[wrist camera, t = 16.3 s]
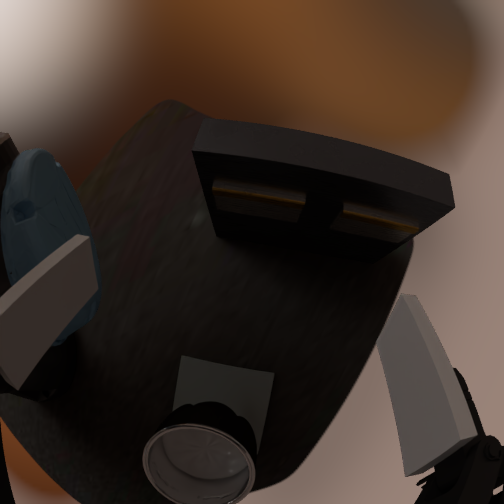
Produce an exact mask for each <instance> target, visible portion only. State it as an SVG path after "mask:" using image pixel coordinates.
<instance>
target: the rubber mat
mask: <svg viewBox="0 0 504 504" xmlns="http://www.w3.org/2000/svg"><path fill="white" fill-rule="evenodd" d="M273 379H274V373H271V372H264V371H257V370H251V369H245V368H240V367H234V366H229V365H224V364H219V363H214V362H209V361H204V360H200V359H195V358H191V357H187V356H181V362H180V368H179V374H178V380H177V386H176V392H175V398H174V405H173V411H174V410H175V409H176V408H178V407H179V406H181V405H183V404H185V403H187V402H189V401H191V400H193V399H194V397H195V395H196V394H197V392H198V391H199V390H200V389H202V388H203V387H205V386H207V385H210V384H214V383H224V384H228V385H231V386H233V387H235V388H237V389H238V390H240V391H241V392H242V393H243V394H244V396H245V397H246V399H247V401H248V404H249V416H248V419H249V421H250V423H251V425H252V427H253V430H254V433H255V438H256V443H257V454H258V451H259V447H260V442H261V438H262V433H263V429H264V424H265V419H266V414H267V409H268V405H269V400H270V394H271V389H272V384H273ZM173 411H172V412H173Z"/></svg>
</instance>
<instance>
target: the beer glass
mask: <svg viewBox="0 0 504 504" xmlns="http://www.w3.org/2000/svg"><path fill="white" fill-rule="evenodd" d="M248 416H249V404H248V401H247V399H246V397H245V396H244V394H243V393H242V392H241V391H240V390H238V389H237V388H235V387H233V386H231V385H228V384H224V383H214V384H210V385H207V386H205V387H203V388H202V389H200V390H199V391H198V392H197V394H196V395H195V397H194V399H193V400H191V401H189V402H187V403H185V404H183V405H181V406H179V407H178V408H176V409H175V410H174V411H173V412H172V413H170V414H169V415H168V416H167V417H166V418H165V420H164V421H163V422H162V423H161V424H160V426H159V427H158V428H157V430H156V431H155V433H154V434H153V436H152V437H151V438H150V439H149V440H148V442H147V443H146V445H145V448H144V451H143V467H144V470H145V473H146V475H147V477H148V479H149V481H150V482H151V483H152V485H153V486H154V487H155V488H156V489H157V490H158V491H159V492H160V493H161V494H162V495H164V496H165V497H166V498H168V499H169V500H171V501H173V502H175V503H177V504H236V503H238V502H239V501H241V500H242V499H243V498H244V497H246V496H247V494H248V493H249V492H250V490H251V489H252V487H253V484H254V481H255V469H256V461H257V443H256V438H255V433H254V430H253V427H252V425H251V423H250V421H249V419H248Z"/></svg>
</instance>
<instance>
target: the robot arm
mask: <svg viewBox="0 0 504 504" xmlns="http://www.w3.org/2000/svg"><path fill="white" fill-rule="evenodd" d="M101 289H102V283H101V272H100V266H99V261H98V256H97V252H96V248H95V244H94V241H93V238H92V234H91V231H90V228H89V225H88V222H87V219H86V216H85V214H84V211H83V208H82V206H81V204H80V201H79V199H78V197H77V194H76V192H75V190H74V188H73V186H72V184H71V182H70V180H69V178H68V176H67V174H66V173H65V171H64V169H63V168H62V166H61V165H60V164H59V163H58V162H55V159H54V157H53V155H52V154H50V153H49V152H48V151H46V150H44V149H40V148H35V149H32V150H25V151H23V152H22V153H21V154H20V153H19V152H18V150H17V148H16V147H15V145H14V143H13V141H12V139H11V137H10V135H9V134H8V133H2V132H0V394H2V393H10V394H13V395H16V396H20V397H23V398H26V399H30V400H33V401H48V400H53V399H56V398H58V397H60V396H62V395H63V394H64V393H65V392H66V391H67V390H68V388H69V386H70V385H71V382H72V380H73V377H74V373H75V368H76V345H75V339H74V334H73V332H75V331H76V330H78V329H79V328H81V327H82V326H84V325H86V324H87V323H88V322H89V321H90V320H91V319H92V318H93V317H94V315H95V314H96V312H97V310H98V307H99V303H100V299H101ZM376 344H377V347H378V350H379V354H380V358H381V361H382V365H383V369H384V373H385V377H386V381H387V385H388V388H389V393H390V397H391V401H392V405H393V410H394V415H395V419H396V425H397V429H398V435H399V441H400V446H401V452H402V459H403V465H404V472H405V477H408V476H412V475H417V474H421V473H424V472H425V471H427V470H428V469H430V468H432V467H434V469H435V472H433V473H432V474H430V475H428V476H426V477H425V478H423V479H421V480H420V481H419V482H418V483H417V484H416V485H417V486H419V485H421V484H423V483H424V482H426V481H427V482H426V484H425V485H423V486H422V487H421V488H422V489H423V490H422V491H421V493H420V495H419V497H418V498H417V500H416V502H415V503H414V504H504V446H501V444H500V442H499V440H498V439H496V438H495V437H494V436H491V435H489V436H486V435H485V432H484V430H483V427H482V424H481V421H480V418H479V415H478V412H477V410H476V407H475V404H474V402H473V401H472V397H471V394H470V392H468V387H467V384H466V382H465V380H464V378H463V376H462V375H461V374H460V373H459V371H458V370H457V369H456V368H452V365H451V364H450V361H449V359H448V357H447V355H446V352H445V350H444V348H443V346H442V344H441V342H440V340H439V338H438V336H437V334H436V332H435V330H434V328H433V326H432V324H431V322H430V320H429V318H428V317H427V315H426V313H425V311H424V309H423V307H422V306H421V304H420V302H419V300H418V298H417V297H416V296H415V295H408V294H401V295H400V297H399V299H398V301H397V303H396V305H395V307H394V309H393V311H392V313H391V315H390V317H389V319H388V321H387V323H386V325H385V327H384V328H383V330H382V332H381V334H380V336H379V337H378V339H377V341H376ZM502 484H503V491H501V492H499V493H498V494H496V495H493V490H494V489H496V488H497V487H499V486H501V485H502ZM0 504H15V500H14V498H13V494H12V490H11V486H10V482H9V477H8V472H7V468H6V462H5V456H4V450H3V443H2V435H1V424H0Z"/></svg>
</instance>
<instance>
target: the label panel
mask: <svg viewBox="0 0 504 504" xmlns="http://www.w3.org/2000/svg"><path fill="white" fill-rule="evenodd" d="M192 153H193V157H194V161H195V164H196V168H197V171H198V175H199V178H200V182H201V185H202V189H203V192H204V196H205V199H206V203H207V206H208V210H209V213H210V216H211V220H212V223H213V227H214V230H215V233H216V236H218V237H224V238H230V239H236V240H242V241H248V242H254V243H260V244H265V245H271V246H277V247H283V248H289V249H294V250H300V251H306V252H311V253H317V254H323V255H328V256H334V257H339V258H345V259H350V260H356V261H361V262H367V263H372V264H373V263H375V262H376V261H378V260H380V259H381V258H383V257H384V256H386V255H387V254H389V253H391V252H392V251H394V250H395V249H397V248H398V247H400V246H401V245H403V244H404V243H406V242H407V241H409V240H410V239H412V238H413V237H415V236H416V235H418V234H419V233H420V232H422V231H423V230H425V229H426V228H428V227H429V226H431V225H432V224H433V223H435V222H436V221H438V220H439V219H440V218H442V217H443V216H445V215H446V214H447V213H449V212H450V211H451V210H453V209H454V208H455V203H454V198H453V191H452V186H451V181H450V176H449V174H447V173H444V172H442V171H440V170H437V169H434V168H432V167H429V166H426V165H424V164H421V163H418V162H416V161H413V160H410V159H407V158H404V157H401V156H398V155H395V154H391V153H388V152H385V151H382V150H378V149H375V148H372V147H368V146H365V145H361V144H357V143H353V142H349V141H345V140H341V139H337V138H333V137H328V136H324V135H320V134H315V133H310V132H305V131H300V130H294V129H289V128H283V127H277V126H271V125H264V124H257V123H249V122H241V121H232V120H221V119H211V118H204V120H203V122H202V125H201V127H200V130H199V132H198V135H197V137H196V140H195V143H194V145H193V148H192Z"/></svg>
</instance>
